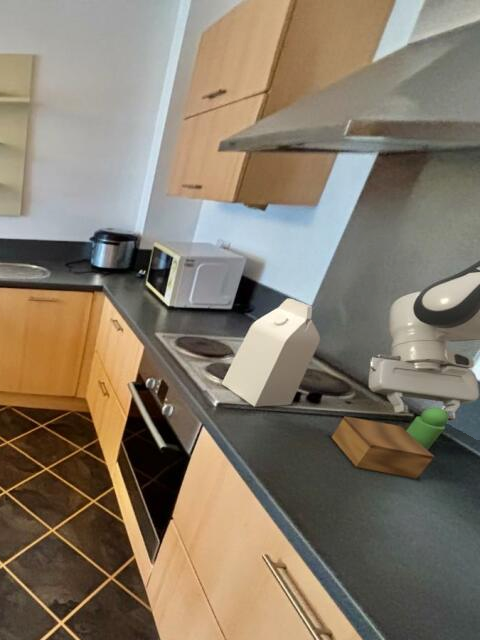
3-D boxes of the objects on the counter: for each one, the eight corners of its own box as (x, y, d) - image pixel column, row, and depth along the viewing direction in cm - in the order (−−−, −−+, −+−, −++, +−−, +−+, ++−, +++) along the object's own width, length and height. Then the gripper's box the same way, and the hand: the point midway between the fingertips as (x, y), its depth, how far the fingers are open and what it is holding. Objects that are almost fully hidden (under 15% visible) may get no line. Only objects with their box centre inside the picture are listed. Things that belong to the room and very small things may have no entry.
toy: (417, 443, 97) (445, 405, 92) (430, 455, 93) (461, 417, 88) (393, 438, 98) (420, 401, 93) (406, 450, 94) (435, 412, 89)
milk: (290, 404, 109) (341, 311, 96) (254, 406, 107) (301, 311, 94) (255, 381, 120) (297, 294, 107) (221, 383, 117) (260, 294, 104)
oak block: (385, 447, 95) (400, 426, 92) (416, 478, 86) (434, 456, 83) (331, 437, 97) (344, 416, 94) (355, 466, 88) (371, 444, 85)
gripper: (381, 348, 96) (386, 406, 92) (482, 361, 93) (490, 420, 90) (359, 357, 102) (362, 411, 98) (452, 369, 99) (459, 425, 96)
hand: (424, 416), depth 94 cm, fingers open, 8 cm apart
